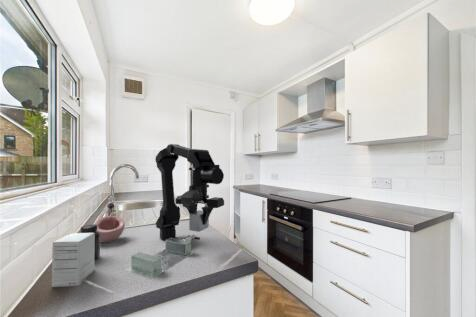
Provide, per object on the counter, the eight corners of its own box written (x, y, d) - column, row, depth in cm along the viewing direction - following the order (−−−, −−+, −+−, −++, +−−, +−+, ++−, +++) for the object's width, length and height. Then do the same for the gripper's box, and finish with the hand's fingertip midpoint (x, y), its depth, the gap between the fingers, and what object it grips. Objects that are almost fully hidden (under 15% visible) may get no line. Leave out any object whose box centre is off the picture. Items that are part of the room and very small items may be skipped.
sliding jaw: (164, 250, 77) (164, 240, 77) (185, 240, 87) (185, 230, 88) (185, 255, 73) (185, 244, 73) (204, 244, 83) (204, 234, 83)
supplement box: (70, 273, 63) (71, 232, 63) (95, 272, 63) (95, 232, 64) (50, 287, 55) (51, 241, 56) (78, 286, 56) (79, 240, 56)
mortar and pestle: (94, 249, 81) (94, 220, 81) (91, 240, 90) (91, 215, 90) (127, 241, 89) (127, 215, 89) (121, 234, 98) (121, 210, 98)
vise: (124, 272, 63) (124, 257, 63) (171, 248, 81) (171, 236, 81) (151, 281, 58) (151, 265, 58) (194, 254, 76) (194, 241, 76)
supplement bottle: (104, 256, 74) (105, 224, 74) (85, 265, 67) (85, 229, 68) (91, 254, 76) (92, 222, 76) (71, 262, 70) (72, 227, 70)
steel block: (189, 230, 73) (189, 213, 74) (198, 225, 79) (199, 210, 79) (199, 231, 72) (199, 215, 72) (208, 227, 77) (208, 211, 77)
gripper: (165, 183, 72) (164, 226, 72) (208, 185, 64) (208, 234, 64) (185, 180, 82) (184, 218, 82) (225, 182, 75) (224, 224, 74)
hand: (199, 223), depth 75 cm, fingers closed on steel block, 4 cm apart
